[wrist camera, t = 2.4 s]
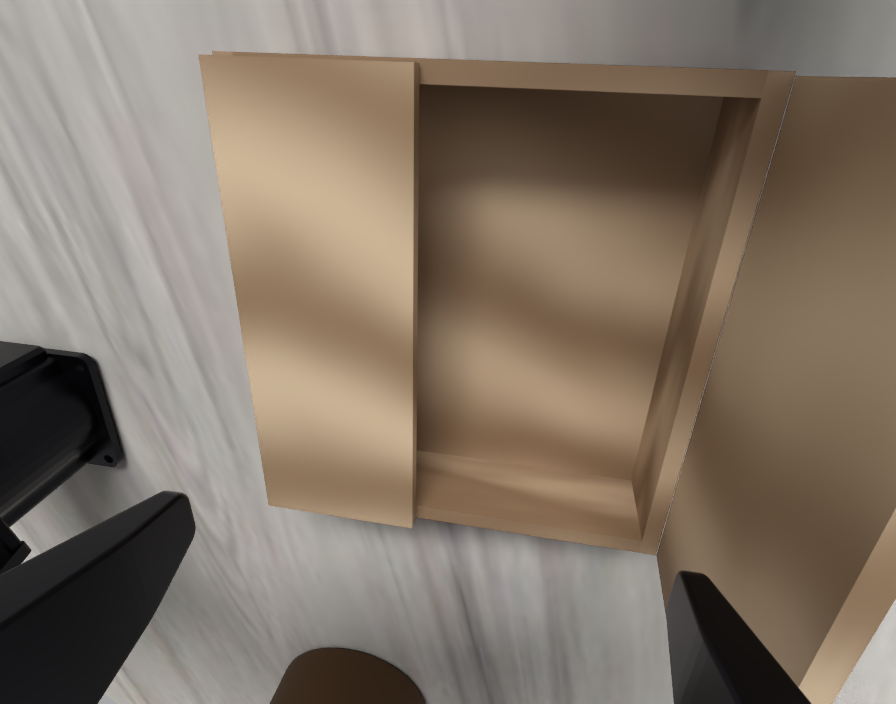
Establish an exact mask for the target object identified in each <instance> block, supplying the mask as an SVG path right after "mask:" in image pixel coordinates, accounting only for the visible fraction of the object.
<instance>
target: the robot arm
mask: <svg viewBox="0 0 896 704" xmlns="http://www.w3.org/2000/svg"><path fill="white" fill-rule="evenodd" d="M82 364H83V365H82ZM122 459H123V455H122V452H121V449H120V445H119V442H118V439H117V435H116V432H115V429H114V426H113V422H112V419H111V416H110V412H109V409H108V406H107V402H106V399H105V396H104V392H103V389H102V386H101V382H100V379H99V376H98V373H97V369H96V366H95V363H94V361H93V359H92V358H91V357H90V356H88V355H87V354H84V353H78V352H70V351H62V350H54V349H46V348H43V347H40V346H35V345H27V344H19V343H11V342H3V341H0V704H98V702H99V700H100V699H101V698H102V696H103V695H104V693H105V691H106V690H107V688H108V687H109V685H110V684H111V682H112V680H113V679H114V677H115V676H116V674H117V673H118V671H119V669H120V668H121V666H122V665H123V663H124V662H125V660H126V658H127V657H128V655H129V654H130V652H131V651H132V649H133V647H134V646H135V644H136V643H137V641H138V640H139V638H140V636H141V635H142V633H143V632H144V630H145V629H146V627H147V625H148V624H149V622H150V620H151V619H152V617H153V615H154V614H155V612H156V610H157V608H158V606H159V604H160V603H161V601H162V599H163V597H164V595H165V593H166V591H167V589H168V587H169V585H170V583H171V581H172V579H173V577H174V575H175V573H176V571H177V569H178V567H179V565H180V563H181V562H182V560H183V558H184V556H185V554H186V552H187V550H188V548H189V546H190V544H191V542H192V540H193V538H194V534H195V521H194V517H193V513H192V509H191V505H190V502H189V498H188V497H187V495H186V494H184V493H179V492H173V491H163V492H160V493H158V494H156V495H154V496H152V497H150V498H148V499H146V500H144V501H143V502H141V503H139V504H137V505H135V506H133V507H131V508H129V509H127V510H125V511H123V512H121V513H119V514H117V515H115V516H113V517H111V518H110V519H108V520H106V521H104V522H102V523H100V524H98V525H96V526H94V527H92V528H90V529H88V530H86V531H84V532H82V533H80V534H79V535H77V536H75V537H73V538H71V539H69V540H67V541H65V542H63V543H61V544H59V545H57V546H55V547H53V548H51V549H49V550H47V551H46V552H44V553H42V554H40V555H38V556H36V557H34V558H32V559H30V560H28V561H26V562H24V563H22V562H23V561H24V560H25V558H26V557H27V556H28V555H29V553H30V552H31V549H30V548H29V546H28V545H27V544H26V543H25V542H24V541H20V540H19V538H18V537H17V536H16V535H15V534H14V532H13V531H12V530H11V529H10V528H9V527H11V526H12V525H13V524H14V523H15V522H17V521H18V520H19V519H20V518H21V517H23V516H24V515H25V514H26V513H28V512H29V511H30V510H31V509H32V508H34V507H35V506H36V505H37V504H38V503H40V502H41V501H42V500H43V499H44V498H46V497H47V496H48V495H49V494H50V493H52V492H53V491H54V490H55V489H57V488H58V487H59V486H60V485H61V484H63V483H64V482H65V481H66V480H67V479H69V478H70V477H71V476H72V475H73V474H75V473H76V472H77V471H78V470H79V469H81V468H82V467H83V466H84V465H86V464H87V463H90V464H96V465H103V466H109V467H115V466H116V465H118V464H119V463H120V462H121V461H122ZM21 563H22V564H21ZM666 617H667V629H668V641H669V652H670V663H671V675H672V686H673V697H674V704H812V703H811V702H810V701H809V700H808V698H807V697H806V696H805V695H804V693H803V692H802V691H801V690H800V689H799V687H798V686H797V685H796V684H795V682H794V681H793V680H792V679H791V678H790V676H789V675H788V674H787V673H786V671H785V670H784V669H783V668H782V667H781V665H780V664H779V663H778V662H777V660H776V659H775V658H774V657H773V656H772V654H771V653H770V652H769V651H768V649H767V648H766V647H765V646H764V645H763V643H762V642H761V641H760V640H759V638H758V637H757V636H756V635H755V634H754V632H753V631H752V630H751V629H750V627H749V626H748V625H747V624H746V623H745V621H744V620H743V619H742V618H741V616H740V615H739V614H738V613H737V611H736V610H735V609H734V608H733V607H732V605H731V604H730V603H729V602H728V600H727V599H726V598H725V597H724V596H723V594H722V593H721V592H720V591H719V589H718V588H717V587H716V586H715V585H714V583H713V582H712V581H711V580H710V578H709V577H708V576H706V575H705V574H703V573H698V572H691V571H685V570H681V571H679V572H678V573H677V574H676V577H675V580H674V583H673V587H672V590H671V593H670V596H669V600H668V603H667V612H666Z"/></svg>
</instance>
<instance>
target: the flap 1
mask: <svg viewBox="0 0 896 704" xmlns="http://www.w3.org/2000/svg"><path fill="white" fill-rule="evenodd" d="M199 61H200V68H201V74H202V81H203V87H204V93H205V100H206V106H207V113H208V119H209V126H210V132H211V138H212V145H213V151H214V158H215V164H216V170H217V177H218V183H219V190H220V196H221V202H222V209H223V215H224V222H225V228H226V235H227V241H228V247H229V254H230V260H231V267H232V273H233V279H234V286H235V292H236V299H237V305H238V311H239V318H240V324H241V331H242V337H243V344H244V350H245V356H246V363H247V369H248V376H249V382H250V388H251V395H252V401H253V408H254V414H255V420H256V427H257V433H258V440H259V446H260V453H261V459H262V465H263V472H264V478H265V485H266V491H267V497H268V504H269V505H270V506H276V507H283V508H289V509H295V510H301V511H307V512H314V513H320V514H326V515H332V516H338V517H345V518H351V519H357V520H363V521H369V522H376V523H382V524H388V525H394V526H400V527H407V528H413V525H414V522H415V519H416V445H417V315H418V185H419V63H417V62H392V61H364V60H336V59H308V58H280V57H252V56H224V55H199Z"/></svg>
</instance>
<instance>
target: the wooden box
mask: <svg viewBox="0 0 896 704" xmlns="http://www.w3.org/2000/svg"><path fill="white" fill-rule="evenodd" d="M212 54H213V55H224V56H252V57H280V58H308V59H336V60H364V61H392V62H417V63H419V185H418V315H417V445H416V517H417V518H424V519H430V520H436V521H443V522H449V523H455V524H462V525H468V526H474V527H481V528H487V529H493V530H499V531H506V532H512V533H518V534H525V535H531V536H537V537H544V538H550V539H556V540H563V541H569V542H575V543H582V544H588V545H594V546H601V547H607V548H613V549H619V550H626V551H632V552H638V553H645V554H651V555H656V552H657V549H658V545H659V542H660V538H661V535H662V532H663V528H664V525H665V521H666V518H667V514H668V511H669V507H670V504H671V501H672V497H673V494H674V490H675V487H676V483H677V480H678V476H679V473H680V470H681V466H682V463H683V459H684V456H685V452H686V449H687V445H688V442H689V438H690V435H691V432H692V428H693V425H694V421H695V418H696V414H697V411H698V407H699V404H700V401H701V397H702V394H703V390H704V387H705V383H706V380H707V376H708V373H709V370H710V366H711V363H712V359H713V356H714V352H715V349H716V345H717V342H718V339H719V335H720V332H721V328H722V325H723V321H724V318H725V314H726V311H727V307H728V304H729V301H730V297H731V294H732V290H733V287H734V283H735V280H736V276H737V273H738V270H739V266H740V263H741V259H742V256H743V252H744V249H745V245H746V242H747V239H748V235H749V232H750V228H751V225H752V221H753V218H754V214H755V211H756V208H757V204H758V201H759V197H760V194H761V190H762V187H763V183H764V180H765V176H766V173H767V170H768V166H769V163H770V159H771V156H772V152H773V149H774V145H775V142H776V139H777V135H778V132H779V128H780V125H781V121H782V118H783V114H784V111H785V108H786V104H787V101H788V97H789V94H790V90H791V87H792V83H793V80H794V77H795V73H796V71H770V70H741V69H712V68H683V67H655V66H626V65H597V64H568V63H539V62H510V61H481V60H452V59H424V58H395V57H366V56H337V55H308V54H279V53H250V52H222V51H212Z"/></svg>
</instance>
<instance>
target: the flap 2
mask: <svg viewBox="0 0 896 704" xmlns="http://www.w3.org/2000/svg"><path fill="white" fill-rule="evenodd" d="M657 561H658V567H659V574H660V580H661V587H662V593H663V600H664V606H665V613H666V612H667V603H668V600H669V596H670V593H671V590H672V587H673V583H674V580H675V577H676V574H677V573H678V572H679V571H681V570H685V571H691V572H698V573H703V574H705V575H706V576H708V577H709V578H710V580H711V581H712V582H713V583H714V585H715V586H716V587H717V588H718V589H719V591H720V592H721V593H722V594H723V596H724V597H725V598H726V599H727V600H728V602H729V603H730V604H731V605H732V607H733V608H734V609H735V610H736V611H737V613H738V614H739V615H740V616H741V618H742V619H743V620H744V621H745V623H746V624H747V625H748V626H749V627H750V629H751V630H752V631H753V632H754V634H755V635H756V636H757V637H758V638H759V640H760V641H761V642H762V643H763V645H764V646H765V647H766V648H767V649H768V651H769V652H770V653H771V654H772V656H773V657H774V658H775V659H776V660H777V662H778V663H779V664H780V665H781V667H782V668H783V669H784V670H785V671H786V673H787V674H788V675H789V676H790V678H791V679H792V680H793V681H794V682H795V684H796V685H797V686H798V687H799V689H800V690H801V691H802V692H803V693H804V695H805V696H806V697H807V698H808V700H809V701H810V702H811V703H812V704H832V703H833V702H834V700H835V698H836V697H837V695H838V693H839V692H840V690H841V688H842V687H843V685H844V683H845V682H846V680H847V678H848V677H849V675H850V674H851V672H852V670H853V669H854V667H855V665H856V664H857V662H858V660H859V659H860V657H861V655H862V654H863V652H864V650H865V649H866V647H867V645H868V644H869V642H870V640H871V639H872V637H873V635H874V634H875V632H876V630H877V629H878V627H879V625H880V624H881V622H882V620H883V619H884V617H885V615H886V614H887V612H888V611H889V609H890V607H891V606H892V604H893V602H894V601H895V599H896V78H884V77H819V76H796V79H795V82H794V85H793V89H792V92H791V96H790V99H789V103H788V106H787V109H786V113H785V116H784V120H783V123H782V127H781V130H780V134H779V137H778V140H777V144H776V147H775V151H774V154H773V158H772V161H771V164H770V168H769V171H768V175H767V178H766V182H765V185H764V188H763V192H762V195H761V199H760V202H759V206H758V209H757V212H756V216H755V219H754V223H753V226H752V230H751V233H750V237H749V240H748V243H747V247H746V250H745V254H744V257H743V261H742V264H741V267H740V271H739V274H738V278H737V281H736V285H735V288H734V291H733V295H732V298H731V302H730V305H729V309H728V312H727V315H726V319H725V322H724V326H723V329H722V333H721V336H720V340H719V343H718V346H717V350H716V353H715V357H714V360H713V364H712V367H711V370H710V374H709V377H708V381H707V384H706V388H705V391H704V394H703V398H702V401H701V405H700V408H699V412H698V415H697V418H696V422H695V425H694V429H693V432H692V436H691V439H690V443H689V446H688V449H687V453H686V456H685V460H684V463H683V467H682V470H681V473H680V477H679V480H678V484H677V487H676V491H675V494H674V497H673V501H672V504H671V508H670V511H669V515H668V518H667V521H666V525H665V528H664V532H663V535H662V539H661V542H660V546H659V549H658V552H657ZM666 619H667V617H666Z"/></svg>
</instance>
